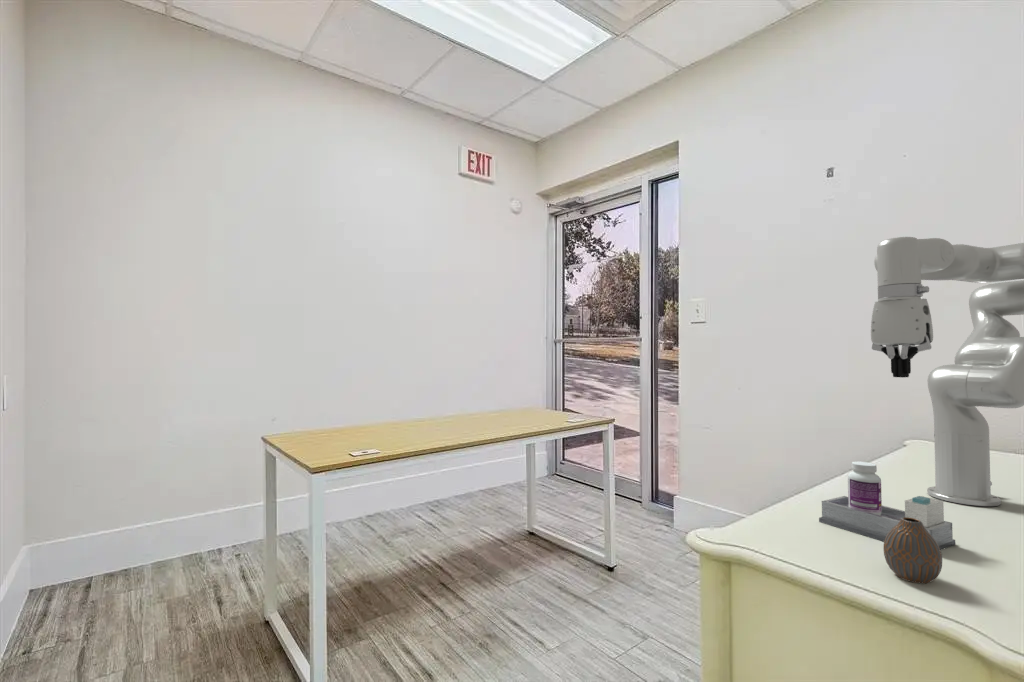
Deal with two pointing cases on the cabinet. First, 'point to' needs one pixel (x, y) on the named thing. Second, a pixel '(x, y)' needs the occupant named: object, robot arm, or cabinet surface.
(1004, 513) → the cabinet surface
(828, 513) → the grey tray
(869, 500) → the pill bottle
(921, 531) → the vase
